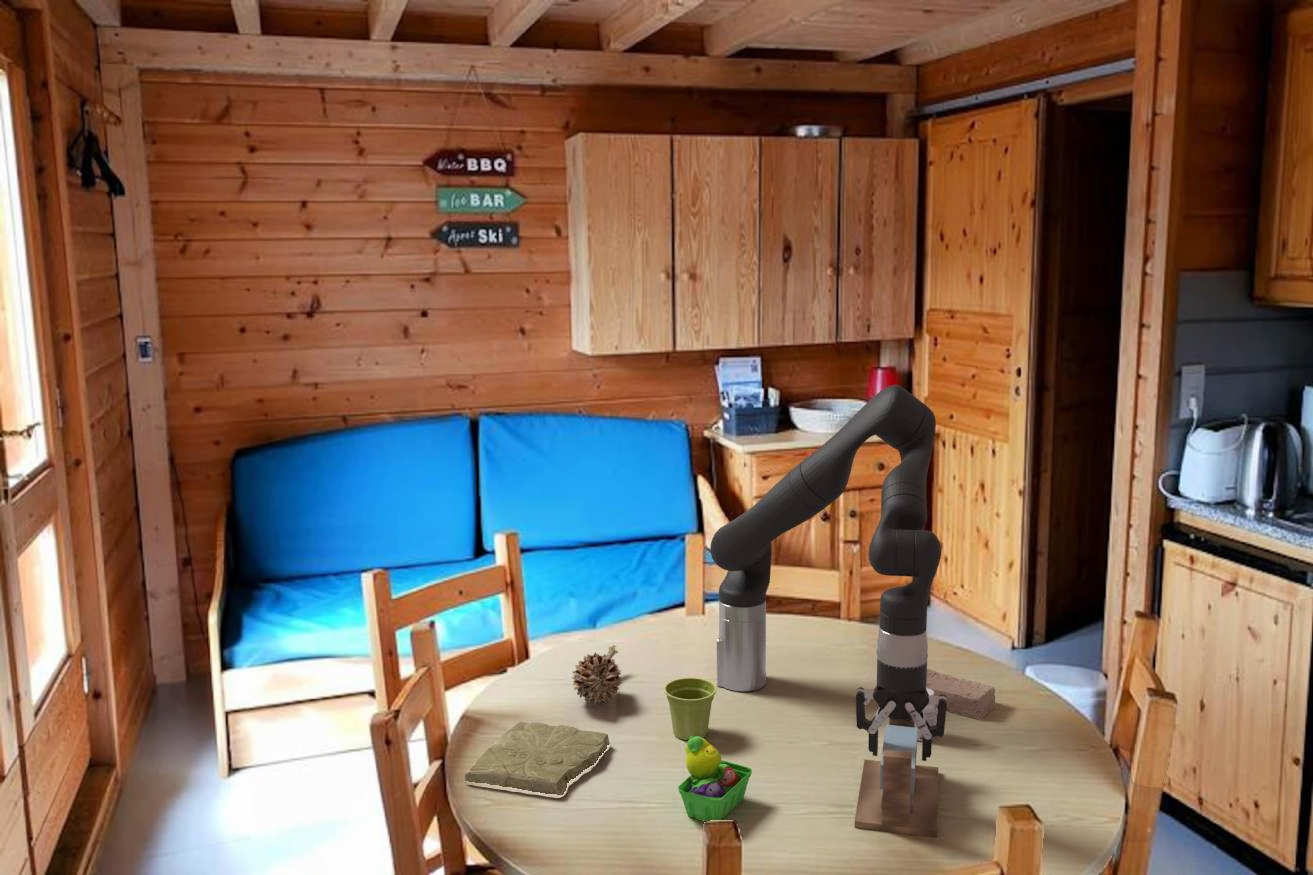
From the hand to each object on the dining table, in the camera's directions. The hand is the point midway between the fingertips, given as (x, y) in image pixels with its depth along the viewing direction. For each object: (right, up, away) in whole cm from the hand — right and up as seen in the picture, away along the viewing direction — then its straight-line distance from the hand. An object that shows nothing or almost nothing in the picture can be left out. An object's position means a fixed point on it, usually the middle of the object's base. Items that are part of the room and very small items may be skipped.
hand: (899, 755), depth 171 cm
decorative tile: (-57, -6, +15) cm, 60 cm away
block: (0, -2, 0) cm, 2 cm away
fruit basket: (-29, -8, 0) cm, 30 cm away
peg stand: (0, -7, +1) cm, 7 cm away
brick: (+17, -1, +36) cm, 40 cm away
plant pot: (-32, -3, +25) cm, 41 cm away
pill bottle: (+9, -3, +22) cm, 24 cm away
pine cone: (-49, 0, +43) cm, 65 cm away
